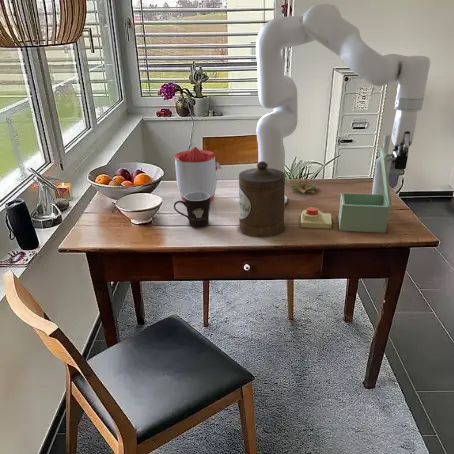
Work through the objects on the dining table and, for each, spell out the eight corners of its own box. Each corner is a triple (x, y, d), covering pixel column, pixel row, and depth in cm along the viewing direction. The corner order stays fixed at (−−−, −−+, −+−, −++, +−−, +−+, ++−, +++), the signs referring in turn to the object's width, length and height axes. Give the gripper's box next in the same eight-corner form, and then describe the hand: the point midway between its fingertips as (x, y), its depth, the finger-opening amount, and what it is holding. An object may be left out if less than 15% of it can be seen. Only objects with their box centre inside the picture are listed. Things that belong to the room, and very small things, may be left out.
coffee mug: (215, 220, 164) (213, 193, 159) (206, 230, 157) (204, 202, 152) (184, 217, 167) (182, 190, 162) (174, 226, 160) (171, 198, 155)
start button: (306, 215, 158) (306, 210, 157) (306, 211, 161) (307, 206, 160) (317, 216, 158) (317, 211, 157) (317, 212, 161) (317, 207, 160)
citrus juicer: (225, 205, 176) (224, 151, 165) (178, 208, 174) (174, 154, 163) (219, 191, 189) (218, 140, 179) (176, 194, 187) (172, 142, 177)
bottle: (382, 202, 175) (394, 133, 162) (385, 208, 170) (397, 136, 157) (368, 202, 175) (378, 133, 162) (370, 207, 171) (381, 136, 158)
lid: (383, 157, 140) (402, 153, 139) (379, 147, 150) (397, 143, 149) (389, 205, 148) (407, 202, 146) (384, 193, 157) (401, 189, 156)
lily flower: (319, 185, 192) (320, 174, 190) (317, 195, 182) (318, 184, 180) (289, 184, 195) (290, 173, 192) (286, 194, 185) (287, 182, 182)
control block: (300, 227, 158) (301, 217, 156) (301, 216, 165) (302, 207, 163) (331, 228, 156) (332, 218, 154) (330, 218, 164) (331, 208, 162)
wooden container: (240, 219, 165) (239, 155, 153) (282, 219, 164) (285, 155, 152) (238, 237, 152) (237, 169, 140) (284, 237, 151) (287, 169, 139)
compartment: (339, 230, 155) (342, 205, 150) (338, 217, 164) (341, 192, 160) (385, 232, 153) (390, 206, 148) (381, 218, 162) (385, 194, 158)
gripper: (391, 98, 145) (382, 157, 154) (399, 109, 130) (389, 173, 140) (417, 98, 144) (406, 157, 153) (428, 109, 129) (415, 174, 139)
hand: (398, 164), depth 146 cm, fingers open, 6 cm apart
